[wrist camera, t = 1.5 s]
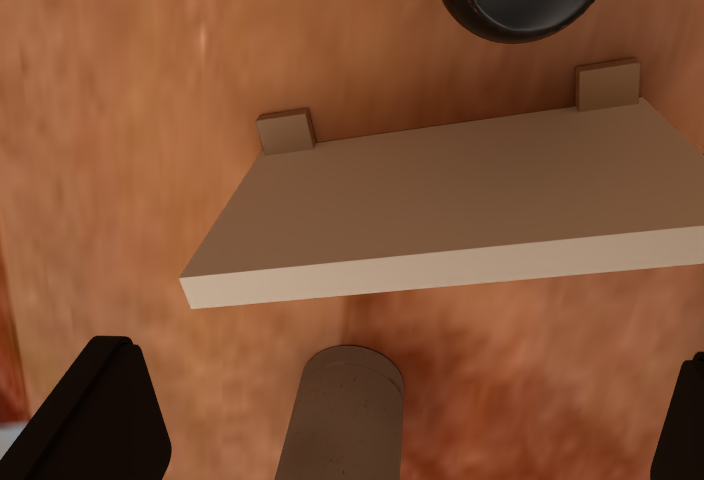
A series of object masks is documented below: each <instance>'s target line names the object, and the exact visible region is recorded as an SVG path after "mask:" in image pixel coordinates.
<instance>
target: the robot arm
mask: <svg viewBox="0 0 704 480" xmlns="http://www.w3.org/2000/svg"><path fill="white" fill-rule="evenodd" d="M171 451H172V450H171V442H170V439H169V436H168V433H167V429H166V426H165V423H164V420H163V417H162V414H161V410H160V407H159V404H158V401H157V398H156V395H155V391H154V388H153V385H152V382H151V379H150V376H149V372H148V369H147V366H146V363H145V360H144V357H143V353H142V350H141V348H140V347H139V346H138V345H134V344H133V342H132V340H131V339H130V338H129V337H125V336H95V337H93V338H92V339H91V340H90V341H89V342H88V344H87V345H86V346H85V348H84V349H83V350H82V352H81V353H80V354H79V356H78V357H77V358H76V360H75V361H74V363H73V364H72V365H71V367H70V368H69V369H68V371H67V372H66V373H65V375H64V376H63V377H62V379H61V380H60V381H59V383H58V384H57V385H56V387H55V388H54V389H53V391H52V392H51V393H50V395H49V396H48V397H47V399H46V400H45V401H44V403H43V404H42V405H41V407H40V408H39V409H38V411H37V412H36V413H35V415H34V416H33V417H32V419H31V420H30V421H29V423H28V424H27V425H26V427H25V428H24V429H23V431H22V432H21V433H20V435H19V436H18V437H17V439H16V440H15V441H14V443H13V444H12V445H11V447H10V448H9V449H8V451H7V452H6V453H5V455H4V456H3V457H2V459H1V460H0V480H162V479H163V476H164V474H165V472H166V470H167V467H168V465H169V462H170V458H171ZM650 479H651V480H704V352H697V353H696V354H695V355H694V357H693V360H685V361H684V362H683V364H682V366H681V369H680V373H679V376H678V379H677V383H676V386H675V389H674V393H673V396H672V399H671V402H670V406H669V409H668V412H667V416H666V419H665V422H664V426H663V429H662V432H661V435H660V439H659V442H658V445H657V449H656V452H655V455H654V459H653V462H652V465H651V470H650Z"/></svg>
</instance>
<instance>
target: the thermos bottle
mask: <svg viewBox="0 0 704 480" xmlns="http://www.w3.org/2000/svg"><path fill="white" fill-rule="evenodd" d="M403 402H404V384H403V379H402V377H401V374H400V372H399V371H398V369H397V368H396V366H395V365H394V364H393V363H392V362H391V361H390V360H389V359H387V358H386V357H384V356H383V355H381V354H379V353H377V352H375V351H373V350H370V349H367V348H363V347H357V346H338V347H332V348H329V349H326V350H323V351H322V352H320V353H318V354H316V355H315V356H314V357H313V358H312V359H311V360H310V361H309V362H308V363H307V365H306V366H305V368H304V371H303V374H302V377H301V381H300V385H299V389H298V392H297V396H296V400H295V404H294V408H293V411H292V415H291V419H290V423H289V427H288V430H287V434H286V438H285V442H284V446H283V449H282V453H281V457H280V461H279V465H278V468H277V472H276V476H275V480H400V462H401V442H402V422H403Z"/></svg>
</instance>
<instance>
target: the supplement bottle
mask: <svg viewBox="0 0 704 480" xmlns="http://www.w3.org/2000/svg"><path fill="white" fill-rule="evenodd" d="M594 1H595V0H442V2H443V4H444V5H445V7H446V9H447V10H448V11H449V13H450V14H451V15H452V17H453V18H454V19H455V20H456V21H457V22H458V23H459V24H460V25H461V26H463V27H464V28H465V29H467V30H468V31H470V32H471V33H473V34H475V35H476V36H479V37H481V38H483V39H486V40H489V41H493V42H497V43H504V44H521V43H528V42H533V41H537V40H540V39H543V38H546V37H549V36H551V35H553V34H555V33H557V32H559V31H560V30H562V29H564V28H566V27H567V26H568V25H570V24H571V23H573V22H574V21H575V20H576V19H577V18H579V17H580V16H581V15H582V14H583V13H584V12H585V11H586V10H587V9H588V8H589V6H590V5H591V4H592V3H594Z"/></svg>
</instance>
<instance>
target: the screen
mask: <svg viewBox="0 0 704 480" xmlns="http://www.w3.org/2000/svg"><path fill="white" fill-rule="evenodd" d="M640 66H641V62H639V61H638V60H637V59H636V58H631V59H624V60H618V61H611V62H605V63H598V64H592V65H585V66H579V67H575V107H568V108H560V109H553V110H546V111H539V112H532V113H525V114H518V115H511V116H504V117H497V118H490V119H483V120H476V121H469V122H461V123H454V124H447V125H440V126H433V127H426V128H419V129H412V130H405V131H398V132H391V133H384V134H377V135H370V136H362V137H355V138H348V139H341V140H334V141H327V142H320V143H316V140H315V136H314V131H313V127H312V123H311V118H310V114H309V110H308V108H305V109H299V110H292V111H286V112H279V113H273V114H266V115H260V116H259V117H258V119H257V120H256V124H257V127H258V131H259V135H260V138H261V142H262V145H263V149H264V151H261V153H260V154H259V156H258V157H257V159H256V160H255V162H254V163H253V165H252V166H251V168H250V169H249V171H248V173H247V174H246V176H245V177H244V179H243V180H242V182H241V183H240V185H239V186H238V188H237V189H236V191H235V193H234V194H233V196H232V197H231V199H230V200H229V202H228V203H227V205H226V206H225V208H224V209H223V211H222V213H221V214H220V216H219V217H218V219H217V220H216V222H215V223H214V225H213V226H212V228H211V229H210V231H209V233H208V234H207V236H206V237H205V239H204V240H203V242H202V243H201V245H200V246H199V248H198V249H197V251H196V253H195V254H194V256H193V257H192V259H191V260H190V262H189V263H188V265H187V266H186V268H185V269H184V271H183V273H182V274H181V276H180V277H179V280H180V282H181V285H182V287H183V290H184V292H185V295H186V297H187V300H188V302H189V305H190V307H191V309H198V308H209V307H221V306H232V305H243V304H254V303H265V302H277V301H288V300H299V299H310V298H322V297H333V296H344V295H355V294H366V293H378V292H389V291H400V290H411V289H423V288H434V287H445V286H456V285H467V284H479V283H490V282H501V281H512V280H524V279H535V278H546V277H557V276H569V275H580V274H591V273H602V272H613V271H625V270H636V269H647V268H658V267H670V266H681V265H692V264H703V263H704V155H703V154H702V153H701V152H700V151H699V150H698V149H697V148H696V147H695V146H694V145H693V144H692V143H691V142H690V141H689V140H688V139H687V138H686V137H684V136H683V135H682V134H681V133H680V132H679V131H678V130H677V129H676V128H675V127H674V126H673V125H672V124H671V123H670V122H669V121H668V120H667V119H665V118H664V117H663V116H662V115H661V114H660V113H659V112H658V111H657V110H656V109H655V108H654V107H653V106H652V105H651V104H650V103H649V102H648V101H646V100H645V99H644V98H643V97H639V85H640Z"/></svg>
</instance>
